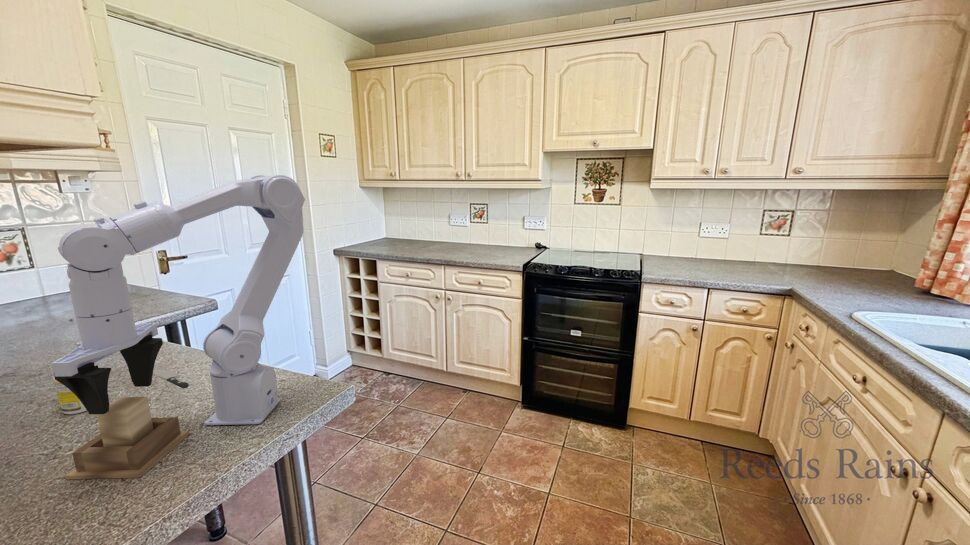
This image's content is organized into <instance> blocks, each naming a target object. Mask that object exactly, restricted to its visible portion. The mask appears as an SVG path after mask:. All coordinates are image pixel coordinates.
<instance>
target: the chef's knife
mask: <svg viewBox="0 0 970 545" xmlns="http://www.w3.org/2000/svg"><path fill="white" fill-rule="evenodd" d="M165 370H166V371H165ZM153 375H154V376H157V377H159V378H161V379H163V380H164V381H167V382H169V383H172V384H174V385H176V386H177V387H180V388H183V389H184V388H188V386H189V383H188V382H186V381H185V382H183V381H181V380H179V379H177V378H178V377H180V376H181V374H179V373H177V372H175V371H174V372H173V371H170V370H167V369H160V370H158V368H156V369H155V368H154V370H153Z"/></svg>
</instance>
